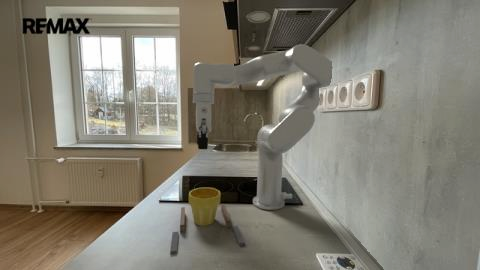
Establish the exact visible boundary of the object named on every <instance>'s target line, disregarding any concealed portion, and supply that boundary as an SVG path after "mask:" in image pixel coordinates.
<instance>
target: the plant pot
mask: <svg viewBox="0 0 480 270" xmlns="http://www.w3.org/2000/svg"><path fill="white" fill-rule="evenodd" d="M221 197H222V195H221V191H220V190H218V189H216V188H215V187H198V188H194V189H192V190H189V193H188V205H189V206H190V208H191V212H192V218H193V222H194V223H195V225H198V226H200V227H204V226H206V227H207V226H209V225H212V224H213V223H214V222H215V219H216V216H217V210H218V206H219V205H220V203H221Z"/></svg>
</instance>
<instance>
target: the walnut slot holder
mask: <svg viewBox="0 0 480 270" xmlns="http://www.w3.org/2000/svg"><path fill="white" fill-rule="evenodd" d="M220 212H221V214H222V217H223V221H224V223H225V226H226V228H227V229H230V228H231V227H232V220H231V217H230V215H229V212H228V208H227V207H226V204H225V203H222V204H221V211H220ZM179 223H180V224H179V233H180V234H184V233H185V227H186V226H185V223H186V207H185V206H181V208H180V221H179Z"/></svg>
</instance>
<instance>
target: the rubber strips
mask: <svg viewBox="0 0 480 270" xmlns="http://www.w3.org/2000/svg"><path fill="white" fill-rule="evenodd" d="M232 231H233V233H234V237H235V239H236V242H237V245H238V246H239V247H240V246H245V244H246V242H245V240H244V237H243V235H242V233H241V230H240V228H239V226H238V225H232ZM171 235H172V236H171V244H170V249H169V250H170V251H169V254H170V255H175V254H176V255H177V254H178V245H179V244H178V243H179V231H172V234H171Z"/></svg>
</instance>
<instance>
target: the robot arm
mask: <svg viewBox="0 0 480 270" xmlns="http://www.w3.org/2000/svg"><path fill="white" fill-rule="evenodd" d="M332 62H333V61H332V60H331V59H329V58H327V56H325V55H323V54H322V53H320V52H319V51H317V50H316V49H315V48H313V47H310V46H309V45H307V44H303V43H300V44H296V45H294V46H293V47H291V48H290V49H287V50H282V51H278V52H272V53H267V54H262V55H260V56H257V57H255V58H253V59H251V60H249V61H247V62H245V63H242V64H238V65H235V66H234V65H232V64H230V63H208V62H197V63H195V64H194V65H193V75H192V78H193V79H192V80H193V81H192V83H193V84H192V86H193V87H192V104H195V127H196V128H195V129H196V131H197V134H196V145H197V149H198V150H208V148H209V147H208V146H209V145H208V144H209V135H208V132H209V133H210V132H211V131H212V105H214V104H215V85H216V86H218V87H219V88H220V89H228V88H231V87H237V86H240V85H244V84H249V83H255V82H260V81H263V80H269V79H272V78H275V77H277V78H278V77H281V76H286V75H289V74H291V75H292V74H294V73H297V72H299V71H302V72H303V74H302V77H301V85H302V87H301V88H302V89H301V92H300V94H298V96H296V98H295V99H294V100H293V101H292V102H290V103H289V104H288V105H287V106H286V107H285V108H284V109H283V110H282V111H281V112H280V113H279V115H278V116H279V117H278V124H277V125H276V124H265V125H263V126H262V127H261V128H260V129H259V130H258V133H257V136H256V137H257V138H256V140H257V181H256V182H257V184H256V196H254V197H253V198H252V204H253V206H255V207H256V208H259V209H261V210H267V211H276V210H281V209H282V208H284V207H285V201H286V200H291V199H293V194H292V193H287V192H286V191H285V192H282V181H283V180H282V179H283V154H284V153H287V152H288V151H289V150H291V149H292V148H293V147H295V146H296V144H297V143H298V142H300V141H301V140H302V139H303V138H305V136H306V135H307V134H308V133H309V132H310V131H311V130H312V128H313V126H314V124H315V120H316V118H315V117H316V116H315V113H314V112H315V111H316V110H317V108H318V107H319V106H320V104H319V101H320V98H319V88H321V89H322V88H326V87H327V88H328V87H330V86H331V85H330V83H331V79H332V68H333V67H332ZM329 85H330V86H329ZM320 102H321V101H320Z"/></svg>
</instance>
